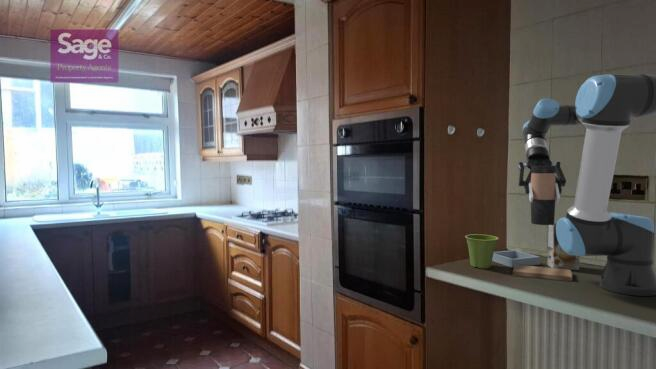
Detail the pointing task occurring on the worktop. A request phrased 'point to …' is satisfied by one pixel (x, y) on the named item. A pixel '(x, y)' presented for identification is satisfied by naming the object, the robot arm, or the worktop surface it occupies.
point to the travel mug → (543, 194)
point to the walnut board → (542, 272)
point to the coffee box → (559, 253)
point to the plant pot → (481, 249)
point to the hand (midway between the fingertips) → (544, 199)
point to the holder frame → (520, 258)
